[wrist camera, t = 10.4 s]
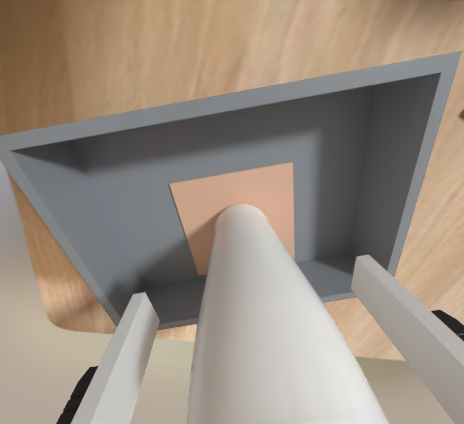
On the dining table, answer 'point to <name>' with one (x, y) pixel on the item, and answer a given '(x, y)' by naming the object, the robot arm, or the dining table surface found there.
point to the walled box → (237, 180)
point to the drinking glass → (269, 338)
